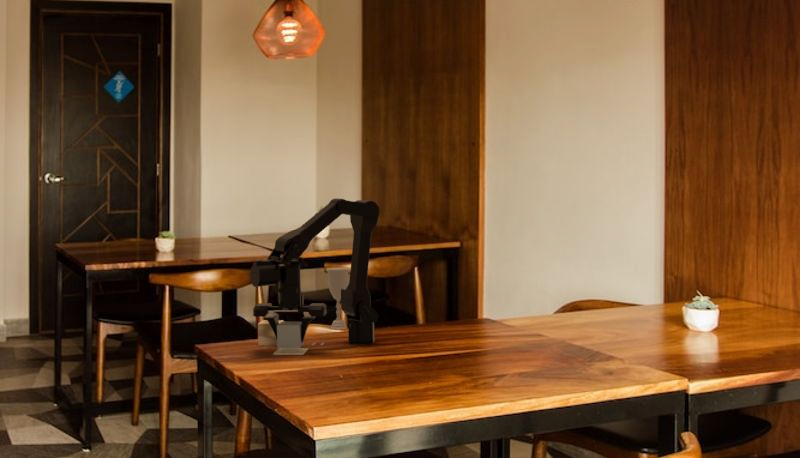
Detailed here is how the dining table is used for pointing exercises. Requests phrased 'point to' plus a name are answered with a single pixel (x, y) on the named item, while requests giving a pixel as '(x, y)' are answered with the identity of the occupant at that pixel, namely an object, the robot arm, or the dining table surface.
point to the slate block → (289, 335)
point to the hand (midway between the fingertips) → (290, 342)
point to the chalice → (337, 291)
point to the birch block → (266, 334)
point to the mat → (290, 351)
